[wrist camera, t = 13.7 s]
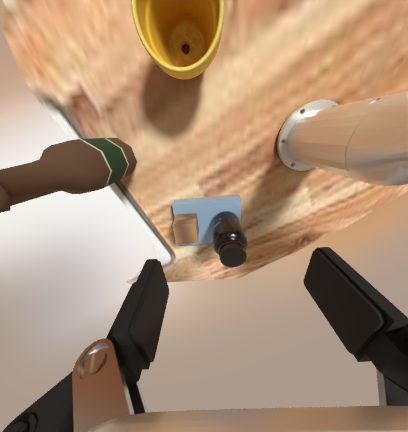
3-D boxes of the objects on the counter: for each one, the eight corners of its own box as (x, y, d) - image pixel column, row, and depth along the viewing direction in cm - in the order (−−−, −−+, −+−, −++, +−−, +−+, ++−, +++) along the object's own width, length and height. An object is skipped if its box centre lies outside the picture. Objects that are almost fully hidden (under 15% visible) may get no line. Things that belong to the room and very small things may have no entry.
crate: (196, 212, 36) (195, 223, 32) (198, 230, 38) (198, 242, 34) (175, 214, 36) (172, 225, 32) (179, 231, 39) (176, 244, 34)
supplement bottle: (210, 211, 36) (213, 243, 25) (239, 209, 36) (254, 240, 25) (212, 235, 39) (215, 272, 29) (238, 233, 39) (252, 270, 28)
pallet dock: (238, 194, 37) (241, 199, 34) (238, 234, 43) (240, 241, 40) (174, 200, 38) (171, 205, 35) (181, 239, 43) (180, 245, 41)
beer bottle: (138, 178, 35) (38, 243, 14) (103, 172, 35) (-56, 231, 13) (137, 141, 32) (1, 155, 10) (98, 133, 31) (-131, 132, 10)
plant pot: (145, 64, 26) (116, 30, 17) (173, -18, 22) (152, -117, 13) (197, 104, 29) (194, 91, 20) (230, 38, 24) (244, -14, 16)
